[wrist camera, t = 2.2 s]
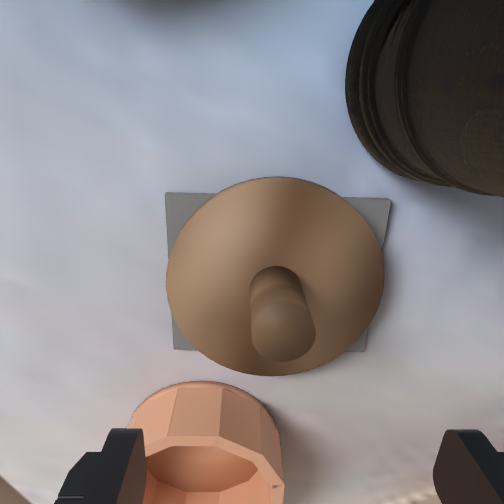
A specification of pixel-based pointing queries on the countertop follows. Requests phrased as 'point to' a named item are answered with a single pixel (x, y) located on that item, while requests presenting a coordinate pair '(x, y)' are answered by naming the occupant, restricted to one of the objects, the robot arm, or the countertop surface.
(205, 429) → the bowl
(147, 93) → the countertop surface
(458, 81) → the container
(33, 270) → the countertop surface
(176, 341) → the mat
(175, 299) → the lid
